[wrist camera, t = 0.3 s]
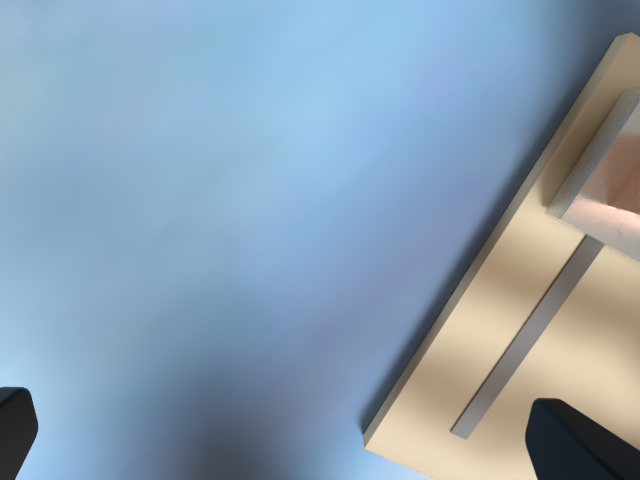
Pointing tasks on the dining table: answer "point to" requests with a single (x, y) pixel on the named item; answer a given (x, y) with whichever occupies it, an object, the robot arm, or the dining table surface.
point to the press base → (526, 324)
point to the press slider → (607, 183)
